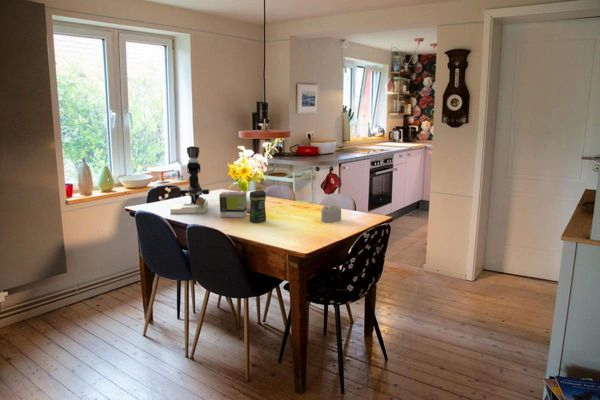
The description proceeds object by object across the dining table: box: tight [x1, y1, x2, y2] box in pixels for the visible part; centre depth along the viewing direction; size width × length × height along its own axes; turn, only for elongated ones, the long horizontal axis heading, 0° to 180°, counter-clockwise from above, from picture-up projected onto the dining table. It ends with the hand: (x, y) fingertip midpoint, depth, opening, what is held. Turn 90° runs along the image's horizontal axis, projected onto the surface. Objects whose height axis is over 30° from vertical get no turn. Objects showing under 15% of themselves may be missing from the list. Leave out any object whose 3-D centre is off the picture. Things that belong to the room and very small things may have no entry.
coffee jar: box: [248, 189, 267, 224], centre depth 279 cm, size 10×8×19 cm
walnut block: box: [196, 196, 207, 207], centre depth 307 cm, size 4×4×4 cm
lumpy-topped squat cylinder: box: [320, 205, 342, 224], centre depth 282 cm, size 10×13×9 cm
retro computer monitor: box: [218, 191, 248, 218], centre depth 293 cm, size 15×10×15 cm
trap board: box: [169, 200, 209, 215], centre depth 307 cm, size 16×22×5 cm
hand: (194, 204), depth 307 cm, fingers closed
